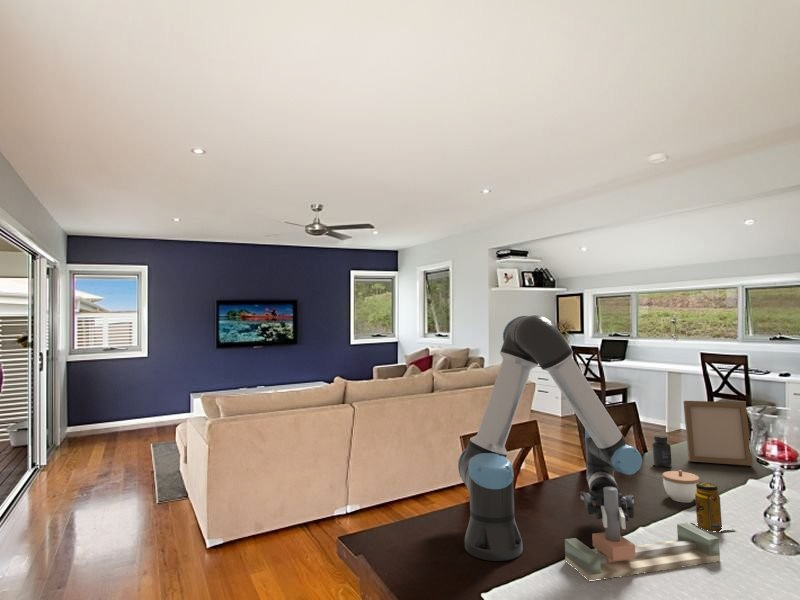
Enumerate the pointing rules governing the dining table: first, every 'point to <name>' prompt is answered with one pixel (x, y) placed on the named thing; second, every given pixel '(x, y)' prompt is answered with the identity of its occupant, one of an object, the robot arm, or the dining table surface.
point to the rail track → (649, 563)
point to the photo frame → (717, 432)
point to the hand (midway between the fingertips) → (614, 522)
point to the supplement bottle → (661, 452)
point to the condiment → (708, 507)
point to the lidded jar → (680, 485)
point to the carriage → (613, 532)
